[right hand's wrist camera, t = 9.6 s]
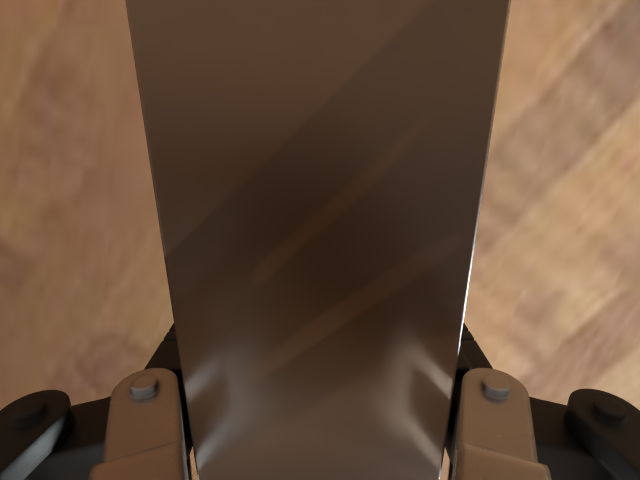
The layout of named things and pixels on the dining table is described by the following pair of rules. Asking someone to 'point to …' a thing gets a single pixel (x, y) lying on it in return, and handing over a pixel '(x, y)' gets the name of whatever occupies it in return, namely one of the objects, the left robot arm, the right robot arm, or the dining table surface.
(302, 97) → the bar
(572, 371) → the dining table surface
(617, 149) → the dining table surface
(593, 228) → the dining table surface
